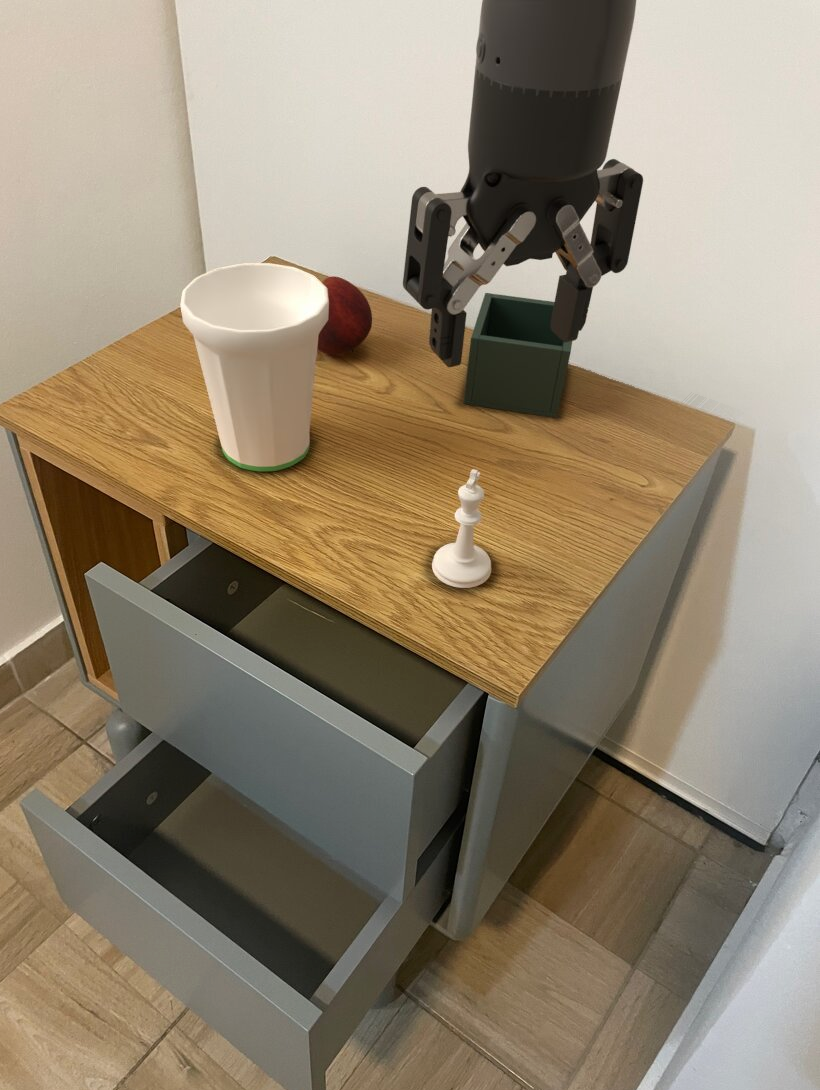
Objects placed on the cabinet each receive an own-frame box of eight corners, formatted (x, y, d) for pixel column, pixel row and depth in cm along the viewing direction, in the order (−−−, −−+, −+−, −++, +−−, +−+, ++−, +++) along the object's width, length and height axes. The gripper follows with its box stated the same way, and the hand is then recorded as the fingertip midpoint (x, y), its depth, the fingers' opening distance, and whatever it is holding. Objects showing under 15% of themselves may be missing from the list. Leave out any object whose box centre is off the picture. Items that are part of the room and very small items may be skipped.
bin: (564, 369, 95) (578, 304, 90) (557, 418, 89) (570, 351, 83) (477, 356, 97) (485, 292, 91) (463, 403, 90) (470, 337, 85)
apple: (326, 326, 101) (326, 258, 95) (384, 346, 98) (387, 277, 92) (289, 354, 96) (286, 284, 90) (349, 375, 93) (349, 305, 88)
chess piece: (422, 575, 72) (430, 479, 65) (446, 540, 75) (457, 444, 68) (477, 596, 71) (492, 499, 64) (500, 559, 74) (516, 463, 67)
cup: (176, 437, 85) (152, 287, 74) (282, 395, 90) (274, 249, 80) (247, 503, 78) (232, 348, 67) (357, 453, 84) (359, 302, 73)
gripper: (460, 98, 40) (433, 401, 52) (708, 69, 45) (632, 355, 56) (392, 54, 45) (381, 341, 57) (622, 31, 49) (568, 302, 61)
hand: (506, 348), depth 56 cm, fingers open, 8 cm apart
